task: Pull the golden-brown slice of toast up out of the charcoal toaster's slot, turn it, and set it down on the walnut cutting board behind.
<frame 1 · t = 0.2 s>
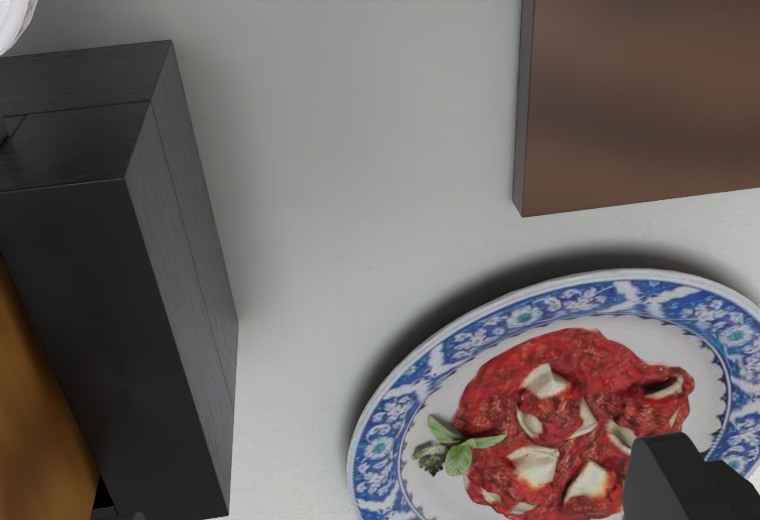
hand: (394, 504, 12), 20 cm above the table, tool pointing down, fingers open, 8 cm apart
ceramic plate: (557, 423, 42), on the table
toaster: (92, 214, 30), on the table
toast: (58, 300, 25), point 6 cm above the table, touching toaster
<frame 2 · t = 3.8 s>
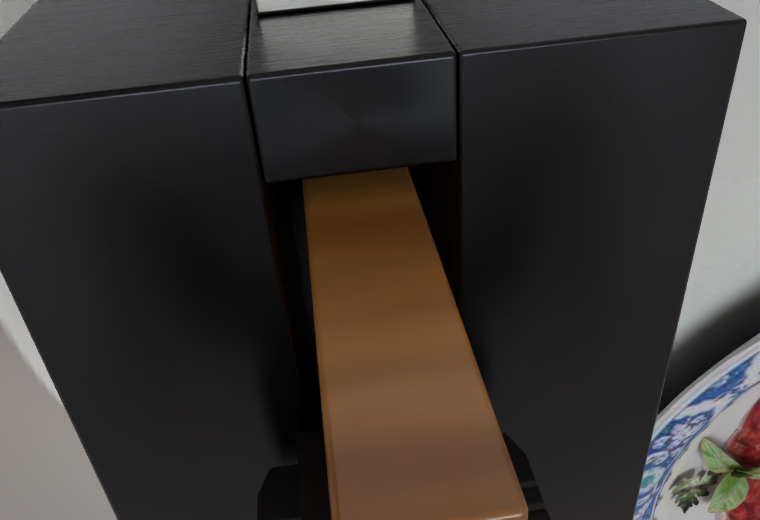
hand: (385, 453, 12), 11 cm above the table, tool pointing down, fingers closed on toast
toaster: (338, 164, 22), on the table
toast: (357, 281, 17), point 6 cm above the table, touching gripper, toaster
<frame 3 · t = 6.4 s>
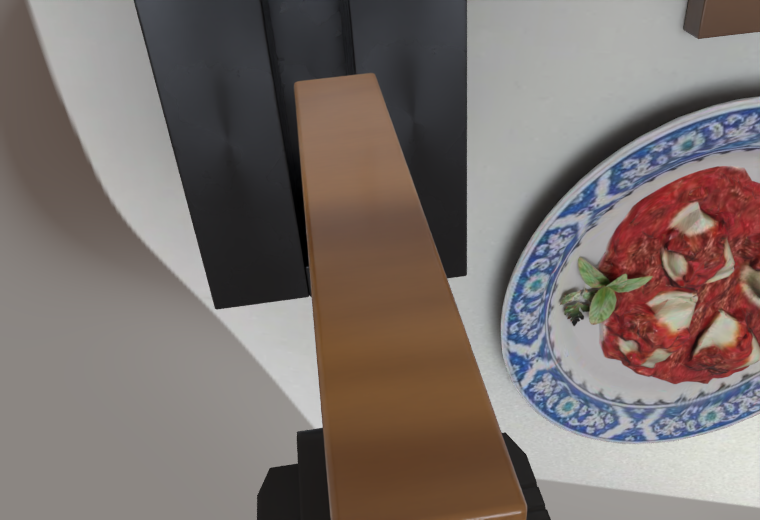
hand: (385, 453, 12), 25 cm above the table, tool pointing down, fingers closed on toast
ceramic plate: (690, 276, 45), on the table
toaster: (306, 31, 33), on the table
toast: (357, 280, 17), point 20 cm above the table, touching gripper
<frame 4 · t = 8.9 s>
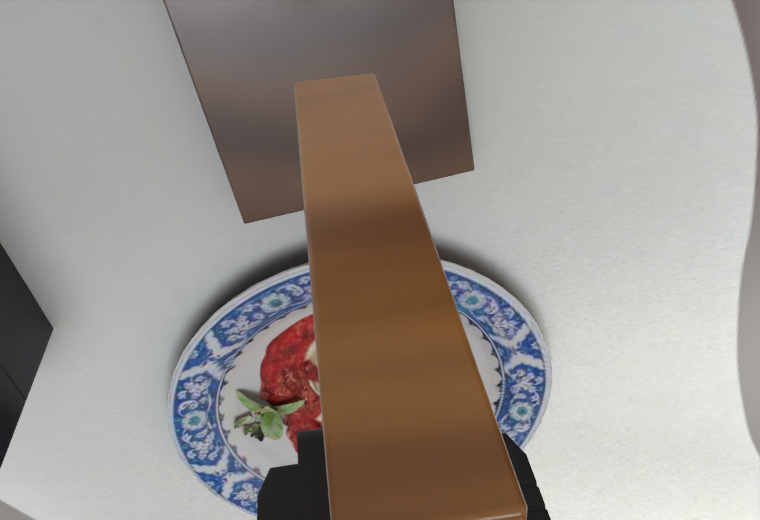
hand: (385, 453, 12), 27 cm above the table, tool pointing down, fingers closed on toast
ceramic plate: (361, 387, 50), on the table
cutting board: (314, 8, 34), on the table
toast: (357, 281, 17), point 22 cm above the table, touching gripper
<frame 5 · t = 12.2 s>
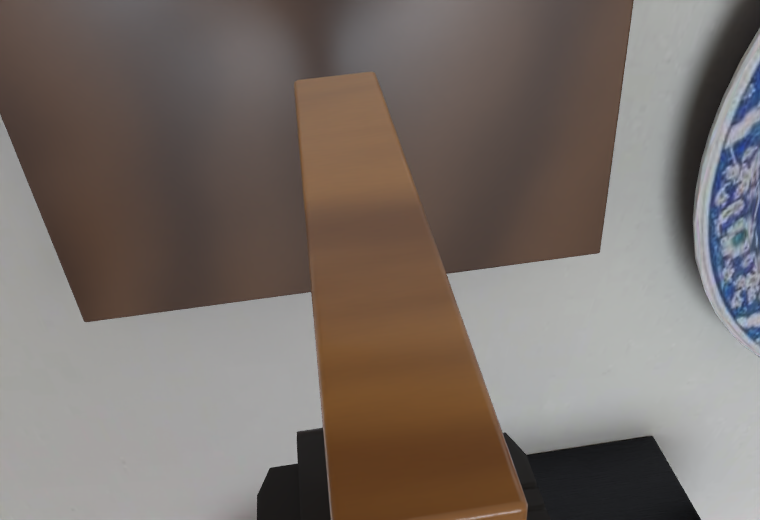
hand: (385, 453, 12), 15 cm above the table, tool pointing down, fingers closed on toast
toaster: (518, 514, 40), on the table
cutting board: (327, 114, 25), on the table
toast: (357, 280, 17), point 10 cm above the table, touching gripper
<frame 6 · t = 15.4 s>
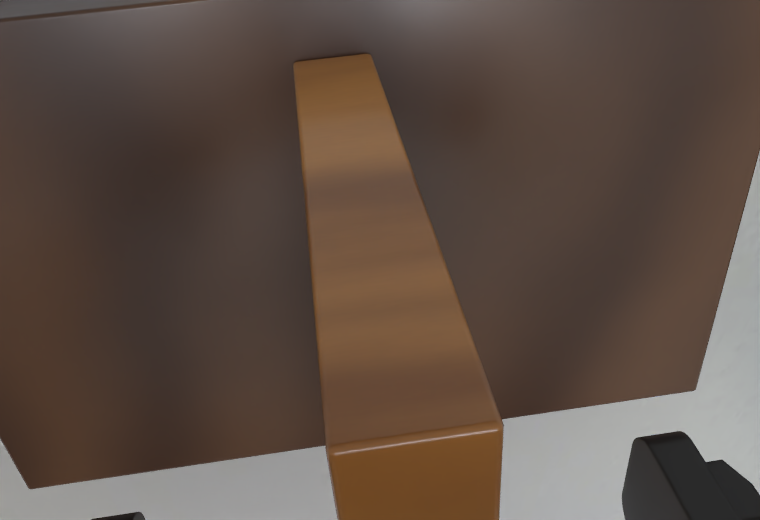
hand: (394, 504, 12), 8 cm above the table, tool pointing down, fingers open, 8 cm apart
cutting board: (347, 229, 18), on the table
toast: (354, 257, 17), point 1 cm above the table, touching cutting board
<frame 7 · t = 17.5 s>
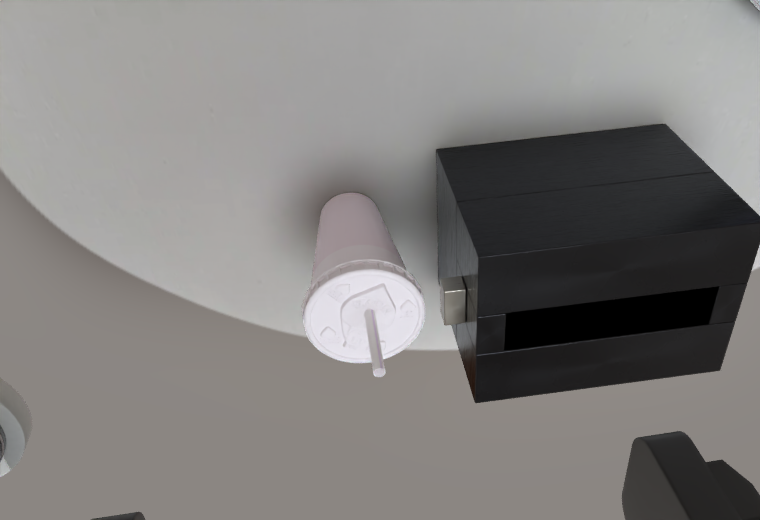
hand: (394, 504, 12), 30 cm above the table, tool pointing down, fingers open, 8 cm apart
smoothie: (349, 216, 44), on the table
toaster: (545, 207, 45), on the table
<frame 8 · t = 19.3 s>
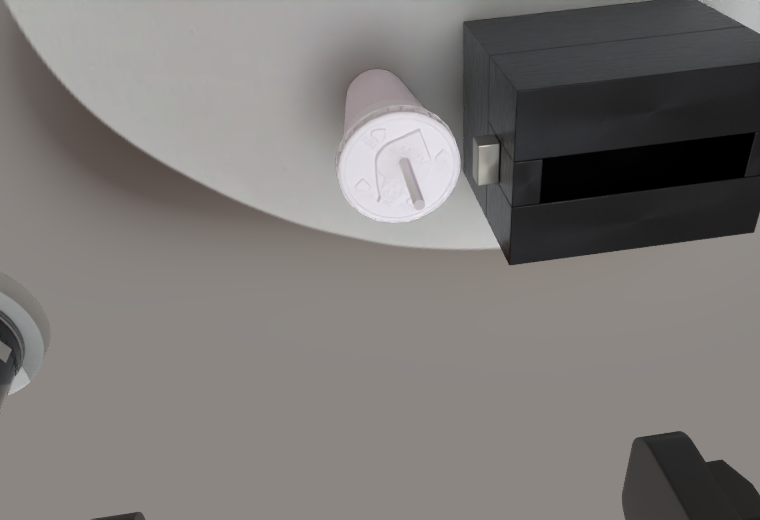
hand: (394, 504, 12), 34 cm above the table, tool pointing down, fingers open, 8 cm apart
smoothie: (375, 97, 44), on the table
toaster: (571, 88, 45), on the table
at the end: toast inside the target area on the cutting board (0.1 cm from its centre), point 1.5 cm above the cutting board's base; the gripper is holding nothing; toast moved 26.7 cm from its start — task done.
